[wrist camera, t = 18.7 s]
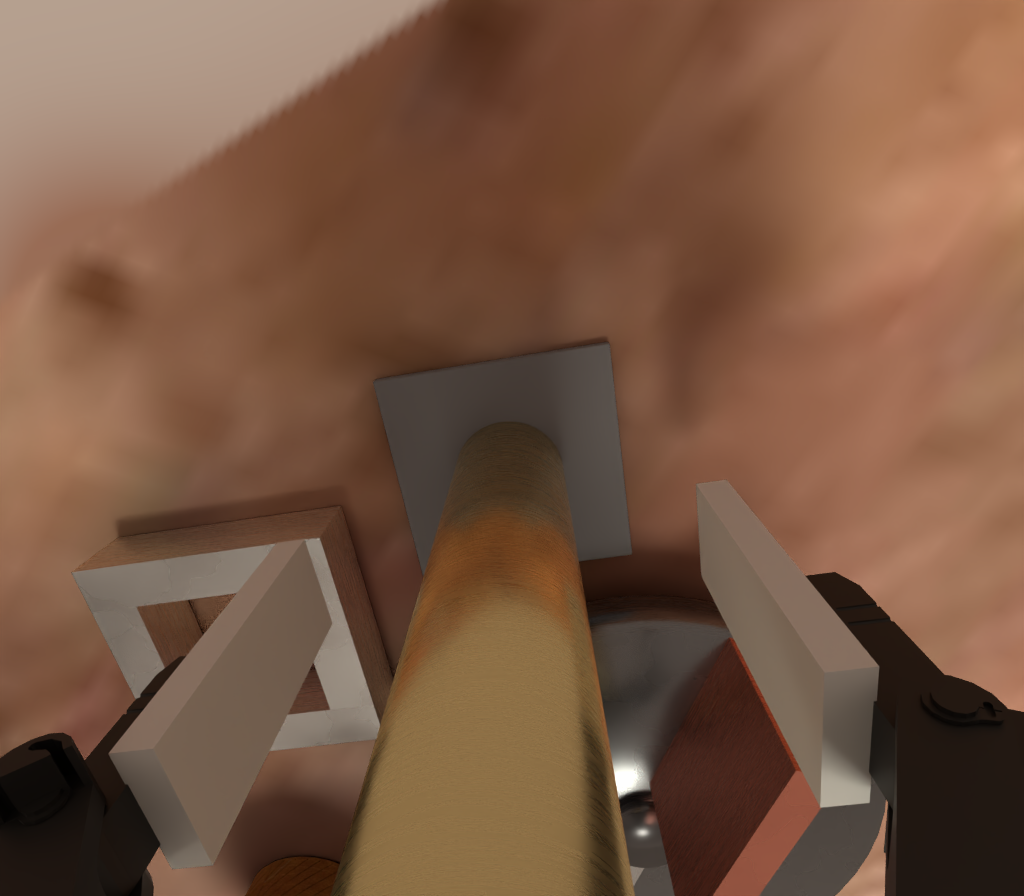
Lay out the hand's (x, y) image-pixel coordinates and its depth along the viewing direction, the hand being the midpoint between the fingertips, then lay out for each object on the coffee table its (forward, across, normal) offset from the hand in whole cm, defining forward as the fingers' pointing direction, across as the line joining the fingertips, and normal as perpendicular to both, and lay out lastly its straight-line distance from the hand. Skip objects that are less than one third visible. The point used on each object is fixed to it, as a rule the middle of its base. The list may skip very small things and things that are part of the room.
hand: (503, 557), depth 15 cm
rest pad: (+6, 0, 0) cm, 6 cm away
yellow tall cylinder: (+6, 0, 0) cm, 6 cm away
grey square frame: (+6, -11, -5) cm, 14 cm away
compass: (+5, +3, -14) cm, 15 cm away
